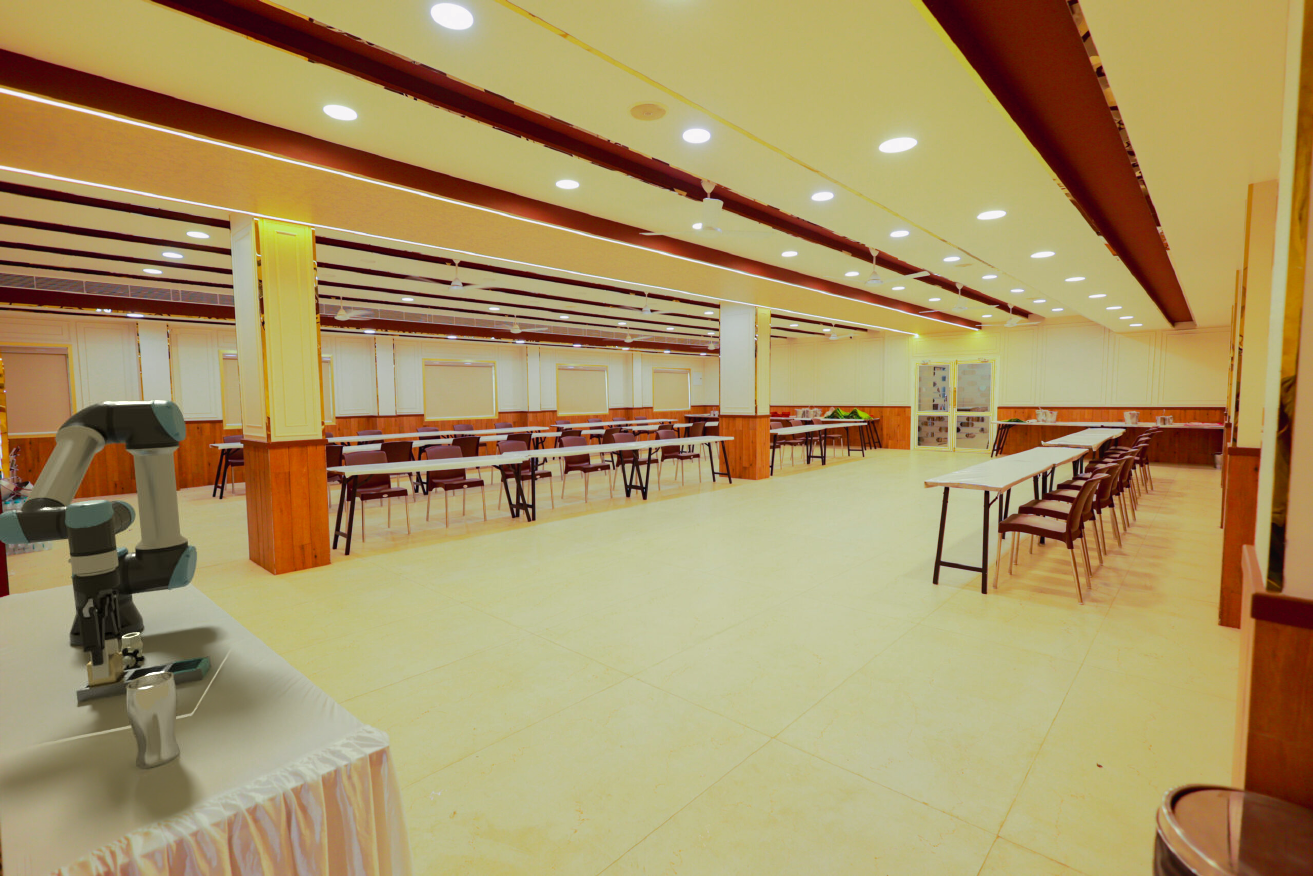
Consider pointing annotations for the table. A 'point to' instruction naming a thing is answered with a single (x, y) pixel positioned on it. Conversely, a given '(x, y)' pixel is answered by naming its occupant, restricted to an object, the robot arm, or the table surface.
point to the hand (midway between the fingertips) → (106, 672)
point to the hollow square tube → (115, 671)
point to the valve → (132, 650)
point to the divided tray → (180, 669)
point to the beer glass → (153, 718)
